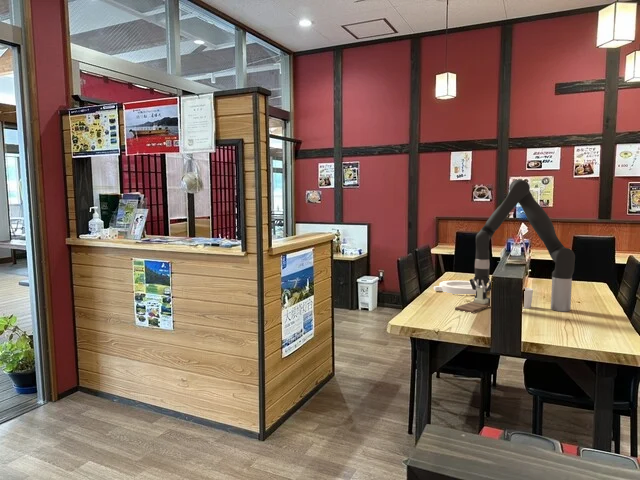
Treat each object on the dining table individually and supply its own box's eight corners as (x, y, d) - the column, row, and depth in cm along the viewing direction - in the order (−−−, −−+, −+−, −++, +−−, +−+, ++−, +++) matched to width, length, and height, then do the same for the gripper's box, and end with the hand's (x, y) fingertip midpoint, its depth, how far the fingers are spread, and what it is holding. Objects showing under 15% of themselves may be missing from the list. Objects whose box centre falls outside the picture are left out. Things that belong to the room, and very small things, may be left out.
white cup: (517, 304, 247) (517, 286, 246) (532, 306, 243) (533, 288, 242) (515, 307, 240) (516, 289, 239) (531, 309, 236) (532, 290, 235)
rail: (476, 302, 252) (476, 295, 252) (493, 305, 245) (493, 298, 244) (454, 309, 235) (455, 302, 235) (472, 313, 228) (472, 305, 228)
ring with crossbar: (491, 291, 285) (492, 283, 285) (474, 298, 265) (474, 290, 264) (450, 285, 304) (451, 278, 304) (431, 292, 283) (431, 284, 283)
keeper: (478, 301, 249) (478, 286, 248) (488, 302, 245) (488, 288, 244) (473, 302, 245) (474, 288, 245) (484, 304, 241) (484, 289, 240)
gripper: (497, 267, 241) (496, 299, 242) (473, 265, 251) (472, 295, 252) (491, 269, 236) (490, 301, 237) (466, 266, 246) (466, 297, 247)
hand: (481, 298), depth 245 cm, fingers closed on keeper, 3 cm apart
